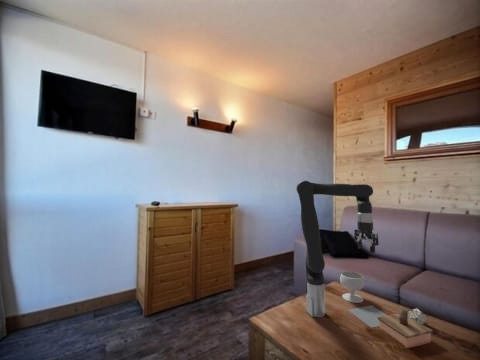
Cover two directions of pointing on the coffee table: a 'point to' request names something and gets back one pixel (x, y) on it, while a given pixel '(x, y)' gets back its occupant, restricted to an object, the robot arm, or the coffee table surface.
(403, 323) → the lid
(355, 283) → the chalice
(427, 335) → the pink square tray
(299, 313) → the coffee table surface
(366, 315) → the mat
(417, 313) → the game die
